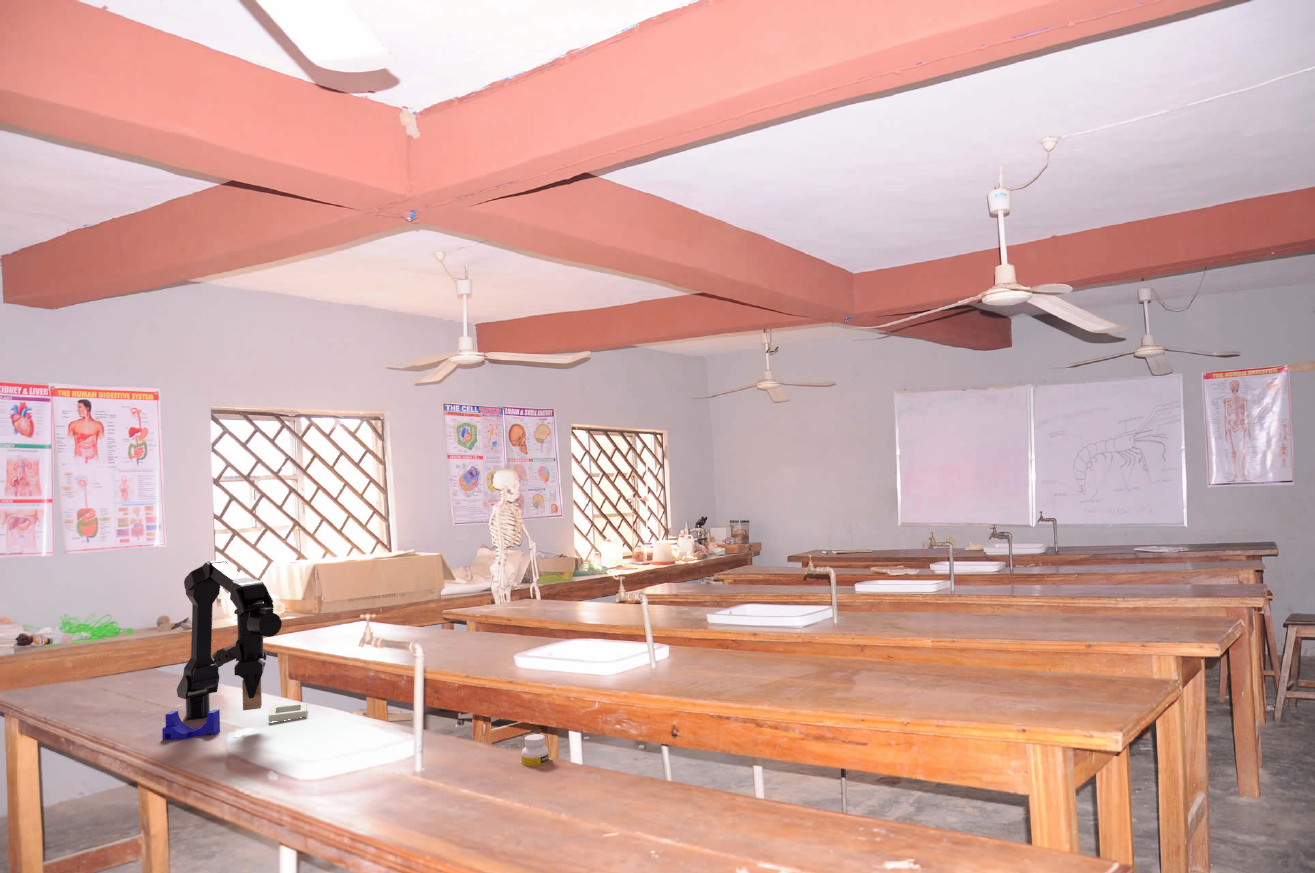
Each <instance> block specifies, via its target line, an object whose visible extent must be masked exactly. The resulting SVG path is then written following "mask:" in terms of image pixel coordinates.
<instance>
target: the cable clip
mask: <svg viewBox="0 0 1315 873" xmlns="http://www.w3.org/2000/svg"><path fill="white" fill-rule="evenodd" d="M220 711H221V710H220V709H219V708H218V709H212V710H210V712H208V713H207V718H205V719H206V720H205V722H204V724H202V726H200V727H190V726H188V725H187V724H185V723H184V722H183V721H182V719H181V717H180V715H179V711H178V710H171V711H169V712H167V713H166V714H165V718H164V719H165V726H164V727H162V728H161V730H162V731H161V734H162V741H166V740H167V741H168V740H169V741H171V740H172V741H174V740H175V741H176V740H187V739H189V738H194V737H195V736H196V737H205V736H209V735H211V736H215V735H216V734H218V733H220V732H221V721H220V720H221V719H220V718H221V716H220V714H221V713H220Z"/></svg>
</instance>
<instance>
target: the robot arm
mask: <svg viewBox="0 0 1315 873" xmlns="http://www.w3.org/2000/svg"><path fill="white" fill-rule="evenodd" d="M183 585H184V588H185V595H186V597H187V599H188V600H189V601H190V602H191V604H192V605H191V606H192V608H191V616H192V617H191V642H190V643H191V644H190V645H191V648H190V659H189V660H188V661H187V663H186V664H185V666H184V668H183V676H182V677H181V679H180V681H179V684H178V685H177V688H176V695H177V697H178V698H180V699H184V700H185V715H184V718H183V721H191V720H199V719H200V720H201V719H207V713H208V712H210V711H211V709H210V708H211V707H210V706H211V705H210V704H211V703H210V702H211V700H210V694H213V693H214V694H215V693H217V692H218V689H219V684H220V683H219V682H220V673H219V671H220V669H219V668H220V667H222V666H224V665H225V664H227V663H230V662H232V661H235V662H237V663H236V664H235V665H234V673H233V674H234V676H238V677H240V678H241V679H242V680H243V679H244V682H245V686H246V689H247V693H248V697H249V698H254V696H255V693H256V690H257V687H258V685H259V682H260V679H261V680H262V676H263V674H264V669H265V667H266V662H264V661H266V660H267V656H268V655H267V650H266V649H265V648H264V637H266V638H270V637H275V636H276V635H277V634H278V633H279V632H280V630H281V629H282V624H283V623H282V622H283V621H282V620H281V617H280V616H279V615H278V614H277V613H275V612H274V607H275V606H274V604H273V603H274V600H273V598H272V597H271V594H270V592H269V591H268V588H267V585H266V584H265V583H264V582H263V581H261V580H260V579H256V578H249V577H245V576H244V575H242V574H241V573H240V572H238V571H237V570H236V569H234V568H233V567H231V566H230V565H229V564H228V561H227V560H223V559H218V560H211V561H210V560H209V561H207V562H204V564H203V565H201V566H200V567H197V568H195V569H193V570H192V571H190V572H189V573H188V574H187V575H186V577H184V581H183ZM221 587H223V589H224V590H227V591H228V592H229V594H230V595H229V600H230V601H231V602H232V603H233V605H234V606H235V608H236V609H235V610H234V612H233V614H234V615H236V617H237V619H236V620H237V621H236V622H237V625H236V626H237V638H236V640H235V643H234V644H232V645H229V646H227V647H222V648H221V649H217V650H216V651H215V652H213V653H212V643H213V642H212V638H213V636H212V634H213V632H212V631H213V629H212V628H213V604H214V603H215V601H216V600H217V598H218V597H219V595H220V592H221ZM262 659H263V660H262Z"/></svg>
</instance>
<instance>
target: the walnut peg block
mask: <svg viewBox="0 0 1315 873" xmlns="http://www.w3.org/2000/svg"><path fill="white" fill-rule="evenodd" d="M241 688H242V711H251V710H258V709H259V710H260V709H261V708H262V704H263V701H262V698H263V697H262V678H261V679H260V682H259V685H258V687H257V690H256V693H255V696H254V698H249V697H248V693H247V689H246V686H245V682H244V679H243V678H242V685H241Z"/></svg>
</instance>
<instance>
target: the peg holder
mask: <svg viewBox="0 0 1315 873" xmlns="http://www.w3.org/2000/svg"><path fill="white" fill-rule="evenodd" d="M300 717H307V718H308V702H300V703H291V704H290V703H289V704H284V705H282V704H281V705H275V706H270V707H269V711H268V723H269V722H272V721H284V720H288V719H296V720H298V719H297V718H300ZM284 722H285V721H284Z"/></svg>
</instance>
